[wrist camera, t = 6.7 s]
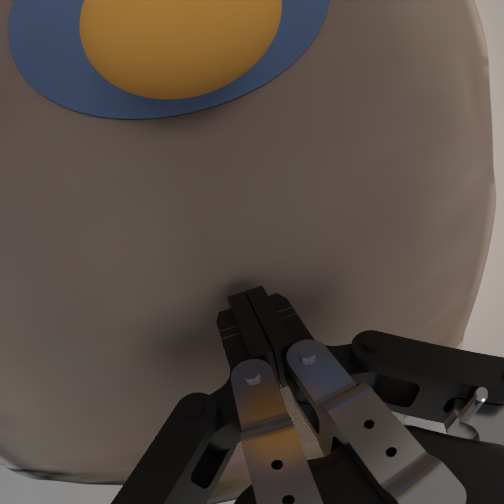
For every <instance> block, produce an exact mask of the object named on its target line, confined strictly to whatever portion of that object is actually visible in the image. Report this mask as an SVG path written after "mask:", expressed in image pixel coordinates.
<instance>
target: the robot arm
mask: <svg viewBox="0 0 504 504" xmlns="http://www.w3.org/2000/svg"><path fill="white" fill-rule="evenodd" d="M227 298H228V301H229V305H230V308H231V309H228V310H224V311H221V312H219V314H218V318H217V321H216V322H217V326H218V329H219V332H220V336H221V339H222V343H223V346H224V349H225V353H226V356H227V359H228V362H229V366H230V376H229V379H228V381H227V382H226V384H225V385H224V386H223V387H221V388H220V389H219V390H217V391H215V392H214V393H212V394H211V395H207V394H205V393H192V394H189V395H187V396H185V397H183V398H182V399H181V400H180V401H179V402H178V404H177V405H176V407H175V408H174V410H173V411H172V413H171V414H170V416H169V417H168V419H167V420H166V422H165V424H164V425H163V427H162V428H161V430H160V431H159V433H158V434H157V436H156V437H155V439H154V440H153V442H152V443H151V445H150V446H149V448H148V449H147V451H146V452H145V454H144V455H143V457H142V458H141V460H140V461H139V463H138V464H137V466H136V467H135V469H134V470H133V472H132V473H131V475H130V476H129V478H128V479H127V481H126V482H125V484H124V485H123V487H122V488H121V490H120V491H119V492H118V494H117V496H116V497H115V498H114V500H113V501H112V503H111V504H206V503H207V501H208V499H209V497H210V495H211V494H212V492H213V490H214V488H215V486H216V484H217V483H218V481H219V479H220V477H221V475H222V473H223V471H224V469H225V467H226V466H227V464H228V462H229V460H230V458H231V456H232V454H233V452H234V450H235V448H236V445H237V443H238V442H240V441H242V446H243V450H244V454H245V458H246V462H247V467H248V471H249V475H250V479H251V482H252V485H250V486H249V487H248V488H247V489H245V490H244V491H243V492H242V493H241V495H240V496H239V497H238V498H237V500H236V501H235V503H234V504H504V358H503V357H497V356H491V355H486V354H480V353H475V352H470V351H465V350H460V349H455V348H450V347H445V346H440V345H435V344H431V343H426V342H422V341H417V340H413V339H408V338H404V337H400V336H396V335H391V334H387V333H383V332H379V331H374V330H369V331H364V332H361V333H359V334H358V335H356V336H355V337H354V339H353V341H352V344H347V345H340V346H326V345H324V344H322V343H321V342H319V341H316V340H314V338H313V337H312V336H311V334H310V333H309V331H308V330H307V328H306V327H305V325H304V324H303V322H302V321H301V319H300V318H299V316H298V315H297V314H296V312H295V310H294V309H293V308H292V306H291V304H290V303H289V301H288V300H287V298H285V297H283V296H281V295H280V294H278V293H276V294H273V295H270V296H268V295H267V294H266V292H265V290H264V288H263V287H262V286H259V287H256V288H253V289H250V290H247V291H245V293H244V292H241V293H238V294H235V295H231V296H228V297H227ZM279 382H280V384H281V386H282V388H283V387H286V386H289V388H290V390H291V392H292V395H293V400H294V402H295V404H296V406H297V407H298V409H299V411H300V412H301V414H302V415H303V417H304V419H305V420H306V422H307V423H308V425H309V427H310V428H311V430H312V431H313V433H314V435H315V436H316V438H317V440H318V443H319V445H320V448H321V450H322V452H323V454H324V455H325V457H322V458H318V459H312V460H306V457H305V454H304V452H303V449H302V446H301V444H300V441H299V438H298V435H297V433H296V430H295V427H294V425H293V422H292V420H291V418H290V417H289V415H288V412H287V409H286V406H285V404H284V401H283V398H282V395H281V392H280V389H281V388H280V384H279ZM392 411H393V412H397V413H401V414H405V415H409V416H413V417H418V418H422V419H426V420H431V421H435V422H440V423H444V425H445V428H446V432H447V434H443V433H439V432H435V431H431V430H427V429H423V428H419V427H416V426H411V425H403V424H402V423H401V422H400V421H399V419H398V418H397V417H396V416H395V415H394V414H393V413H392Z"/></svg>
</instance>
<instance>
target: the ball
mask: <svg viewBox="0 0 504 504" xmlns="http://www.w3.org/2000/svg"><path fill="white" fill-rule="evenodd" d="M281 12H282V0H84V2H83V5H82V8H81V15H80V23H79V26H80V37H81V41H82V45H83V49H84V51H85V54H86V56H87V58H88V60H89V61H90V63H91V64H92V66H93V67H94V68H95V69H96V70H97V72H98V73H99V74H100V75H101V76H102V77H103V78H105V79H106V80H107V81H109V82H110V83H111V84H113V85H115V86H116V87H118V88H120V89H122V90H124V91H126V92H129V93H132V94H134V95H138V96H142V97H146V98H153V99H183V98H190V97H195V96H199V95H203V94H206V93H209V92H212V91H214V90H217V89H219V88H222V87H224V86H226V85H227V84H229V83H231V82H233V81H235V80H236V79H238V78H239V77H240V76H242V75H243V74H245V73H246V72H247V71H248V70H249V69H251V68H252V67H253V66H254V65H255V64H256V63H257V62H258V61H259V60H260V59H261V57H262V56H263V55H264V54H265V52H266V51H267V49H268V48H269V46H270V45H271V43H272V41H273V39H274V37H275V35H276V33H277V30H278V27H279V24H280V19H281Z"/></svg>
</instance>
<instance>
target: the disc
mask: <svg viewBox="0 0 504 504" xmlns="http://www.w3.org/2000/svg"><path fill="white" fill-rule="evenodd" d="M83 2H84V0H14V2H13V5H12V9H11V13H10V20H9V41H10V47H11V51H12V55H13V58H14V61H15V63H16V65H17V67H18V69H19V71H20V72H21V74H22V75H23V76H24V78H25V79H26V80H27V81H28V83H29V84H30V85H31V86H32V87H33V88H35V89H36V90H37V91H38V92H39V93H40V94H42V95H43V96H44V97H46V98H48V99H50V100H51V101H53V102H55V103H57V104H58V105H61V106H63V107H66V108H69V109H71V110H74V111H77V112H80V113H85V114H90V115H94V116H98V117H108V118H118V119H150V118H159V117H169V116H175V115H180V114H185V113H190V112H196V111H199V110H202V109H205V108H209V107H212V106H216V105H219V104H222V103H224V102H227V101H229V100H232V99H234V98H237V97H240V96H242V95H244V94H246V93H248V92H250V91H252V90H254V89H256V88H258V87H260V86H262V85H264V84H265V83H267V82H268V81H270V80H271V79H273V78H274V77H276V76H278V75H279V74H281V73H282V72H283V71H284V70H286V69H287V68H288V67H289V66H290V65H292V64H293V63H294V62H295V61H296V60H297V59H298V58H299V57H300V56H301V55H302V54H303V53H304V52H305V51H306V49H307V48H308V47H309V46H310V44H311V43H312V41H313V40H314V39H315V37H316V36H317V34H318V32H319V30H320V28H321V26H322V24H323V22H324V20H325V16H326V13H327V9H328V5H329V0H282V12H281V19H280V24H279V27H278V30H277V33H276V35H275V37H274V39H273V41H272V43H271V45H270V46H269V48H268V49H267V51H266V52H265V54H264V55H263V56H262V57H261V59H260V60H259V61H258V62H257V63H256V64H255V65H254V66H253V67H252V68H251V69H249V70H248V71H247V72H246V73H245V74H243V75H242V76H240V77H239V78H238V79H236V80H235V81H233V82H231V83H229V84H227V85H226V86H224V87H222V88H219V89H217V90H214V91H212V92H209V93H206V94H203V95H199V96H195V97H190V98H183V99H153V98H146V97H142V96H138V95H134V94H132V93H129V92H126V91H124V90H122V89H120V88H118V87H116V86H115V85H113V84H111V83H110V82H109V81H107V80H106V79H105V78H103V77H102V76H101V75H100V74H99V73H98V72H97V70H96V69H95V68H94V67H93V66H92V64H91V63H90V61H89V60H88V58H87V56H86V54H85V51H84V49H83V45H82V41H81V37H80V26H79V23H80V15H81V8H82V5H83Z"/></svg>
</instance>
